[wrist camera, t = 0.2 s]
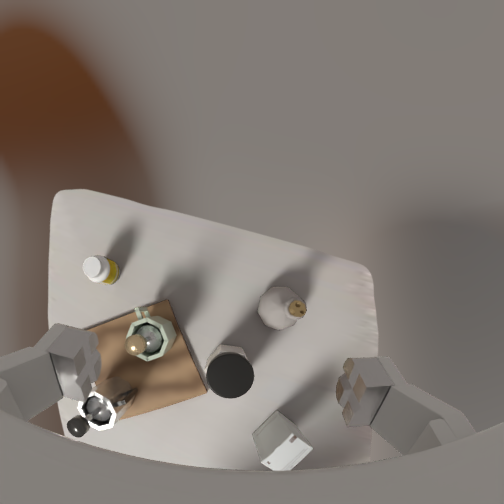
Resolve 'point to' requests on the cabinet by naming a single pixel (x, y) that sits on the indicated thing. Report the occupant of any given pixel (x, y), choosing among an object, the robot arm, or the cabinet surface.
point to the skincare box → (280, 443)
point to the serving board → (148, 365)
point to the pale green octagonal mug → (160, 324)
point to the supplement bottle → (101, 270)
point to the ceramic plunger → (144, 340)
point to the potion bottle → (281, 308)
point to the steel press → (110, 400)
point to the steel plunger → (89, 416)
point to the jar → (229, 371)
